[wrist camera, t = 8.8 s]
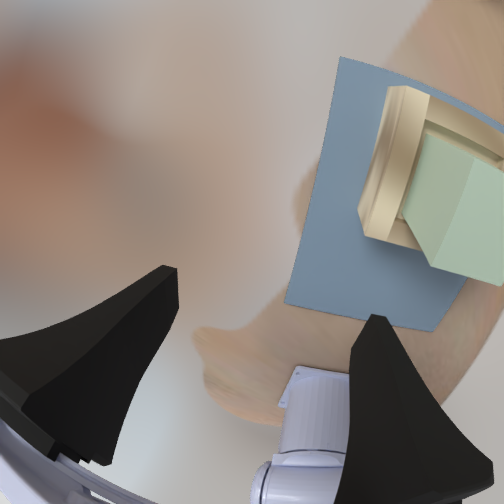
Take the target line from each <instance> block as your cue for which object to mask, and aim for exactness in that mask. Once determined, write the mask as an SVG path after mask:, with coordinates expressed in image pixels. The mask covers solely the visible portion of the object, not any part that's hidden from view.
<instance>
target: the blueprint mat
mask: <svg viewBox="0 0 504 504" xmlns="http://www.w3.org/2000/svg"><path fill="white" fill-rule="evenodd" d="M389 86H409V87H412V88H414V89H417V90H419V91H422V92H424V93H426V94H429V95H431V96H433V97H436V98H438V99H440V100H442V101H444V102H447V103H449V104H451V105H453V106H455V107H457V108H459V109H461V110H463V111H465V112H467V113H468V114H470V115H472V116H474V117H476V118H478V119H479V120H481V121H483V122H485V123H486V124H488V125H490V126H491V127H493V128H495V129H496V130H498V131H500V132H501V133H503V134H504V126H503V125H501V124H500V123H498V122H496V121H495V120H493V119H492V118H490V117H488V116H487V115H485V114H483V113H481V112H480V111H478V110H476V109H474V108H473V107H471V106H469V105H467V104H465V103H463V102H461V101H459V100H457V99H455V98H453V97H451V96H449V95H447V94H445V93H443V92H441V91H439V90H437V89H434V88H432V87H430V86H428V85H425V84H423V83H420V82H418V81H416V80H413V79H410V78H408V77H405V76H403V75H400V74H397V73H394V72H391V71H389V70H386V69H383V68H379V67H376V66H373V65H370V64H366V63H363V62H360V61H356V60H352V59H348V58H345V57H340V58H339V64H338V70H337V75H336V81H335V86H334V92H333V98H332V102H331V108H330V113H329V119H328V123H327V128H326V133H325V137H324V142H323V147H322V152H321V156H320V161H319V165H318V170H317V174H316V179H315V183H314V187H313V192H312V196H311V200H310V204H309V208H308V213H307V217H306V221H305V225H304V229H303V233H302V237H301V241H300V244H299V248H298V252H297V256H296V260H295V264H294V267H293V271H292V275H291V279H290V282H289V286H288V289H287V293H286V296H285V300H284V303H286V304H290V305H295V306H299V307H304V308H308V309H313V310H318V311H322V312H327V313H332V314H337V315H341V316H346V317H351V318H356V319H362V320H368V319H369V317H370V315H371V314H376V315H381V316H386V317H387V319H388V321H389V322H390V324H391V325H394V326H399V327H405V328H411V329H417V330H423V331H429V332H433V331H434V329H435V328H436V326H437V325H438V323H439V322H440V321H441V319H442V318H443V316H444V315H445V313H446V312H447V310H448V309H449V307H450V306H451V304H452V302H453V301H454V299H455V298H456V296H457V294H458V293H459V291H460V290H461V288H462V286H463V284H464V283H465V281H466V279H467V278H468V277H467V276H463V275H460V274H456V273H453V272H449V271H446V270H442V269H439V268H435V267H431V266H430V264H429V262H428V260H427V258H426V256H425V254H424V252H423V251H419V250H415V249H412V248H408V247H405V246H401V245H397V244H394V243H390V242H386V241H383V240H379V239H375V238H371V237H367V236H365V234H364V231H363V227H362V224H361V220H360V217H359V214H358V210H357V207H358V204H359V201H360V197H361V194H362V191H363V187H364V184H365V180H366V177H367V173H368V170H369V166H370V162H371V158H372V155H373V151H374V147H375V143H376V139H377V135H378V131H379V126H380V122H381V118H382V113H383V108H384V104H385V99H386V94H387V89H388V87H389Z"/></svg>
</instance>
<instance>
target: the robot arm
mask: <svg viewBox="0 0 504 504" xmlns="http://www.w3.org/2000/svg"><path fill="white" fill-rule="evenodd" d="M178 309H179V299H178V278H177V268H173V267H169V266H165V265H162V266H160V267H158V268H156V269H155V270H153V271H152V272H150V273H148V274H147V275H145V276H144V277H143V278H141V279H139V280H138V281H136V282H135V283H133V284H131V285H130V286H128V287H127V288H125V289H124V290H122V291H120V292H119V293H117V294H115V295H114V296H112V297H110V298H108V299H107V300H105V301H103V302H102V303H100V304H98V305H96V306H95V307H93V308H91V309H89V310H87V311H85V312H83V313H81V314H79V315H76V316H74V317H73V318H70V319H68V320H65V321H63V322H60V323H57V324H55V325H52V326H50V327H47V328H44V329H41V330H38V331H35V332H32V333H28V334H25V335H20V336H16V337H12V338H6V339H1V340H0V490H1V491H2V493H3V494H4V495H5V497H6V498H7V499H8V500H9V501H10V502H11V503H12V504H110V503H108V502H106V501H103V500H101V499H98V498H96V497H94V496H92V495H91V492H90V490H91V491H93V492H95V493H97V494H98V495H100V496H102V497H104V498H106V499H108V500H110V501H112V502H114V503H116V504H157V503H155V502H152V501H150V500H148V499H145V498H143V497H140V496H138V495H136V494H134V493H131V492H129V491H127V490H125V489H122V488H121V487H119V486H117V485H115V484H113V483H111V482H109V481H107V480H105V479H103V478H101V477H99V476H98V475H96V474H94V473H92V472H91V471H89V470H87V469H85V468H84V467H82V466H80V465H79V464H78V463H79V461H80V459H81V460H83V461H85V462H86V463H90V461H91V460H93V461H94V462H96V463H98V464H100V465H102V466H107V465H110V464H112V459H113V455H114V451H115V448H116V444H117V441H118V437H119V434H120V431H121V428H122V425H123V422H124V419H125V417H126V414H127V411H128V409H129V406H130V404H131V401H132V399H133V396H134V394H135V392H136V389H137V387H138V385H139V382H140V380H141V378H142V376H143V374H144V373H145V371H146V369H147V367H148V366H149V364H150V362H151V361H152V359H153V357H154V356H155V354H156V352H157V351H158V349H159V347H160V346H161V344H162V342H163V341H164V339H165V337H166V335H167V334H168V332H169V330H170V328H171V325H172V323H173V321H174V319H175V316H176V314H177V311H178ZM278 406H279V407H281V408H285V414H284V419H283V425H282V430H281V435H280V441H279V446H278V449H279V453H278V454H273V459H272V461H267V462H265V463H264V464H263V465H262V466H261V467H259V468H258V470H257V472H256V474H255V476H254V479H253V483H252V487H251V493H250V504H462V499H465V498H467V497H469V496H472V495H474V494H477V493H479V492H481V491H483V490H485V489H487V488H489V487H491V486H492V485H493V484H494V473H493V462H492V461H491V460H490V459H489V458H488V457H486V456H485V455H484V454H483V453H482V452H481V451H479V450H478V449H477V448H476V447H475V446H474V445H473V444H472V443H471V442H470V441H469V440H468V439H467V438H466V437H465V436H464V435H463V434H462V432H461V431H460V430H459V429H458V428H457V427H456V426H455V424H454V423H453V422H452V421H451V420H450V418H449V417H448V416H447V415H446V413H445V412H444V411H443V410H442V408H441V407H440V405H439V404H438V402H437V401H436V400H435V398H434V397H433V395H432V394H431V392H430V391H429V389H428V388H427V386H426V385H425V383H424V381H423V380H422V378H421V377H420V375H419V373H418V372H417V370H416V368H415V367H414V365H413V363H412V361H411V360H410V358H409V356H408V354H407V353H406V351H405V349H404V347H403V345H402V344H401V342H400V340H399V338H398V336H397V335H396V333H395V331H394V329H393V328H392V326H391V324H390V322H389V321H388V319H387V317H386V316H381V315H376V314H371V315H370V317H369V319H368V320H367V322H366V324H365V326H364V328H363V329H362V331H361V333H360V335H359V336H358V338H357V340H356V341H355V343H354V345H353V346H352V348H351V355H350V366H349V374H345V373H338V372H332V371H326V370H321V369H315V368H310V367H304V366H297V367H296V368H295V370H294V372H293V374H292V376H291V378H290V380H289V382H288V384H287V386H286V389H285V391H284V393H283V395H282V397H281V399H280V401H279V403H278ZM89 489H90V490H89Z"/></svg>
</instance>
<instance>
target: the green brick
mask: <svg viewBox="0 0 504 504" xmlns="http://www.w3.org/2000/svg"><path fill="white" fill-rule="evenodd" d="M401 213H402V215H403V217H404V218H405V220H406V222H407V223H408V225H409V227H410V229H411V230H412V232H413V234H414V236H415V238H416V239H417V241H418V243H419V245H420V247H421V249H422V250H423V252H424V254H425V256H426V258H427V260H428V262H429V264H430V266H431V267H435V268H439V269H442V270H446V271H449V272H453V273H456V274H460V275H463V276H467V277H470V278H474V279H477V280H480V281H484V282H487V283H490V284H494V285H497V286H500V287H501V286H502V284H503V282H504V172H503V171H501V170H500V169H498V168H496V167H495V166H493V165H491V164H490V163H488V162H486V161H484V160H482V159H480V158H478V157H476V156H475V155H473V154H471V153H469V152H467V151H465V150H462V149H460V148H458V147H456V146H454V145H452V144H450V143H448V142H445V141H443V140H441V139H438V138H436V137H434V136H431V135H429V134H427V133H426V136H425V140H424V144H423V147H422V151H421V154H420V158H419V161H418V165H417V168H416V171H415V174H414V177H413V180H412V184H411V187H410V190H409V192H408V195H407V198H406V201H405V204H404V207H403V209H402V212H401Z"/></svg>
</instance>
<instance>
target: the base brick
mask: <svg viewBox="0 0 504 504" xmlns="http://www.w3.org/2000/svg"><path fill="white" fill-rule="evenodd" d="M426 133H427V134H429V135H431V136H434V137H436V138H438V139H441V140H443V141H445V142H448V143H450V144H452V145H454V146H456V147H458V148H460V149H462V150H465V151H467V152H469V153H471V154H473V155H475V156H476V157H478V158H480V159H482V160H484V161H486V162H488V163H490V164H491V165H493V166H495V167H496V168H498V169H500V170H501V171H503V172H504V134H503V133H501V132H500V131H498V130H496V129H495V128H493V127H491V126H490V125H488V124H486V123H485V122H483V121H481V120H479V119H478V118H476V117H474V116H472V115H470V114H468V113H467V112H465V111H463V110H461V109H459V108H457V107H455V106H453V105H451V104H449V103H447V102H444V101H442V100H440V99H438V98H436V97H433V96H431V95H429V94H426V93H424V92H422V91H419V90H417V89H414V88H412V87H409V86H389V87H388V89H387V94H386V99H385V104H384V108H383V113H382V118H381V122H380V126H379V131H378V135H377V139H376V143H375V147H374V151H373V155H372V158H371V162H370V166H369V170H368V173H367V177H366V180H365V184H364V187H363V191H362V194H361V197H360V201H359V204H358V207H357V210H358V214H359V217H360V220H361V224H362V227H363V231H364V234H365V236H367V237H371V238H375V239H379V240H383V241H386V242H390V243H394V244H397V245H401V246H405V247H408V248H412V249H415V250H419V251H423V250H422V249H421V247H420V245H419V243H418V241H417V239H416V238H415V236H414V234H413V232H412V230H411V229H410V227H409V225H408V223H407V222H406V220H405V218H404V217H403V215H402V213H401V212H402V209H403V207H404V204H405V201H406V198H407V195H408V192H409V190H410V187H411V184H412V180H413V177H414V174H415V171H416V168H417V165H418V161H419V158H420V154H421V151H422V147H423V144H424V140H425V136H426Z"/></svg>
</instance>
